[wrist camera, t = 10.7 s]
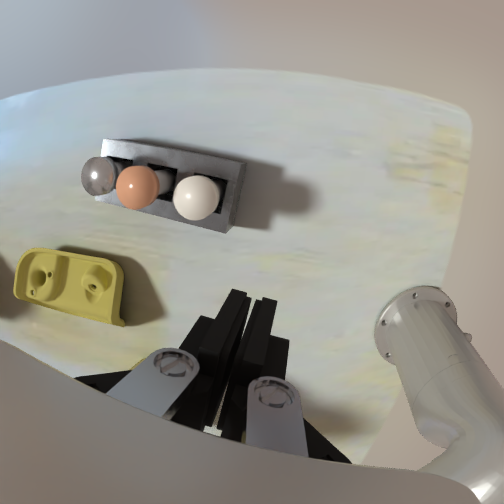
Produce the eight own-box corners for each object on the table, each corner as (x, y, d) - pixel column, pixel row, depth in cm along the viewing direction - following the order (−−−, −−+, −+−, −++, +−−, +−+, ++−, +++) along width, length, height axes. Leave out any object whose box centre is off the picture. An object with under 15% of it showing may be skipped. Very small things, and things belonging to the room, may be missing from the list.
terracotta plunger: (186, 166, 38) (156, 170, 30) (180, 201, 39) (149, 213, 31) (154, 160, 38) (119, 162, 30) (148, 194, 39) (113, 204, 31)
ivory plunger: (237, 176, 39) (219, 181, 31) (229, 211, 40) (210, 225, 32) (202, 168, 39) (177, 172, 31) (196, 202, 40) (170, 214, 32)
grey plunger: (148, 157, 40) (114, 160, 31) (143, 190, 41) (108, 199, 33) (121, 152, 40) (84, 154, 32) (116, 184, 41) (79, 192, 33)
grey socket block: (247, 163, 38) (240, 164, 34) (232, 226, 41) (225, 233, 37) (119, 139, 40) (103, 138, 36) (110, 195, 42) (94, 199, 38)
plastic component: (119, 260, 42) (109, 331, 41) (137, 266, 50) (129, 328, 48) (20, 243, 43) (11, 303, 42) (44, 250, 50) (36, 304, 49)
